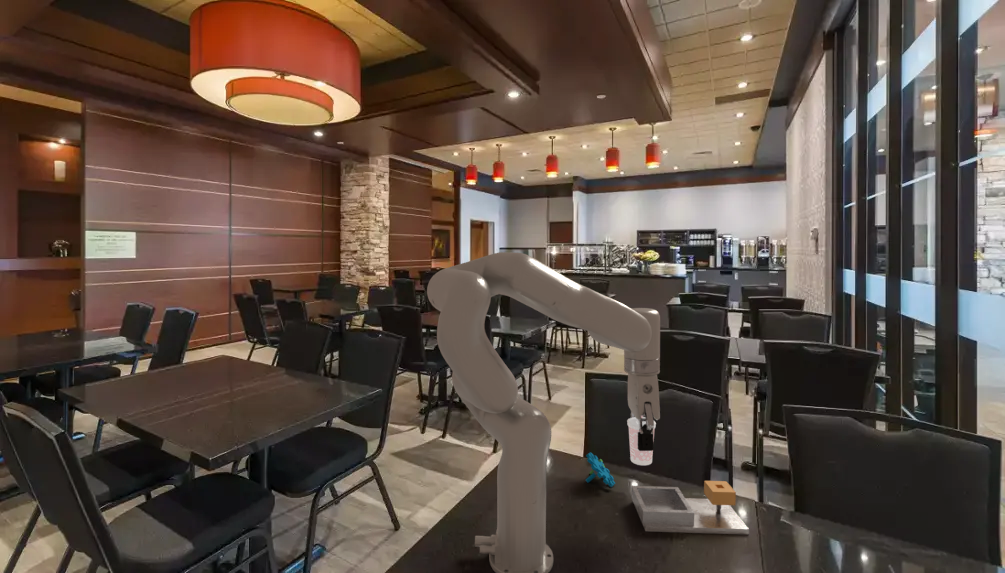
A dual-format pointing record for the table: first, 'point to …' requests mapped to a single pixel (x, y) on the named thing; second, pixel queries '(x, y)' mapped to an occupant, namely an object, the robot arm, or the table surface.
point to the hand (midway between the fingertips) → (641, 442)
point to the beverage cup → (635, 454)
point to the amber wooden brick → (719, 493)
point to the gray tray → (683, 512)
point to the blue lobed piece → (599, 470)
